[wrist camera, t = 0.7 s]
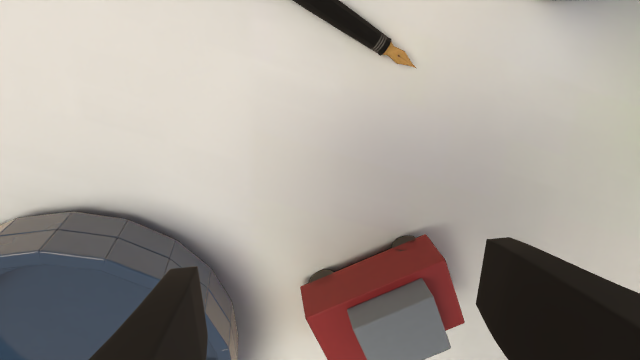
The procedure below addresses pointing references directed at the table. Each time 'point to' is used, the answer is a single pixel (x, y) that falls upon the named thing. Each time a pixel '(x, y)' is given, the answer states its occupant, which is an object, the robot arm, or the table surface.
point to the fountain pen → (355, 27)
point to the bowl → (91, 285)
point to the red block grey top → (385, 305)
